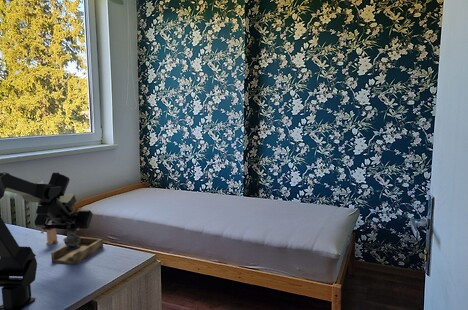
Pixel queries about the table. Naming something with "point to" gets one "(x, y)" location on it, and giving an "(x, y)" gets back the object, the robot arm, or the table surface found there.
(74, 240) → the grey tiered stone figure
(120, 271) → the table surface
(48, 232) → the grandmother figurine
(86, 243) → the open-ended wooden tray
